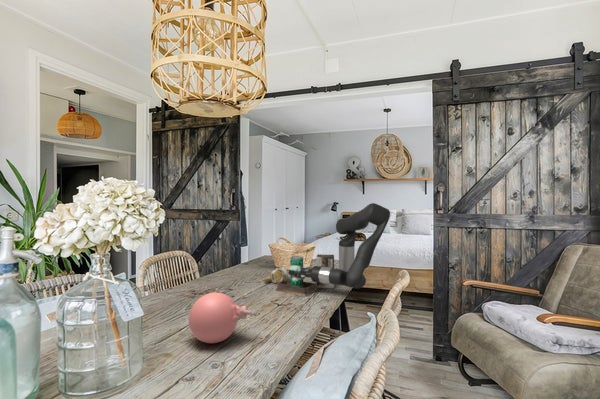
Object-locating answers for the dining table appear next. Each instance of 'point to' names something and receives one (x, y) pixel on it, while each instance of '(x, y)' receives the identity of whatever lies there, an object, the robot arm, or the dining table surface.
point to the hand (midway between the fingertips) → (292, 270)
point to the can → (296, 265)
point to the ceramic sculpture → (277, 275)
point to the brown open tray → (296, 288)
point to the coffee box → (325, 262)
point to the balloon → (215, 317)
